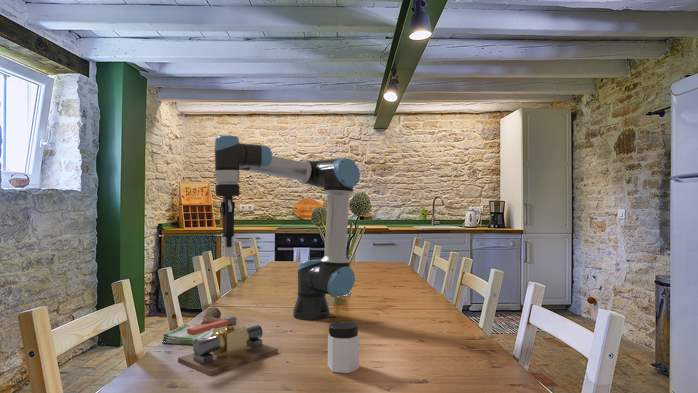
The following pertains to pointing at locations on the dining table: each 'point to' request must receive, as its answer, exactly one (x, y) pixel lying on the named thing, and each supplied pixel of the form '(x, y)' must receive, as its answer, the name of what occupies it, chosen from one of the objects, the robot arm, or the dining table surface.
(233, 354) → the valve body
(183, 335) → the dish towel
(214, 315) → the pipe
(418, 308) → the dining table surface
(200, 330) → the lever
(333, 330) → the jar
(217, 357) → the mount board
